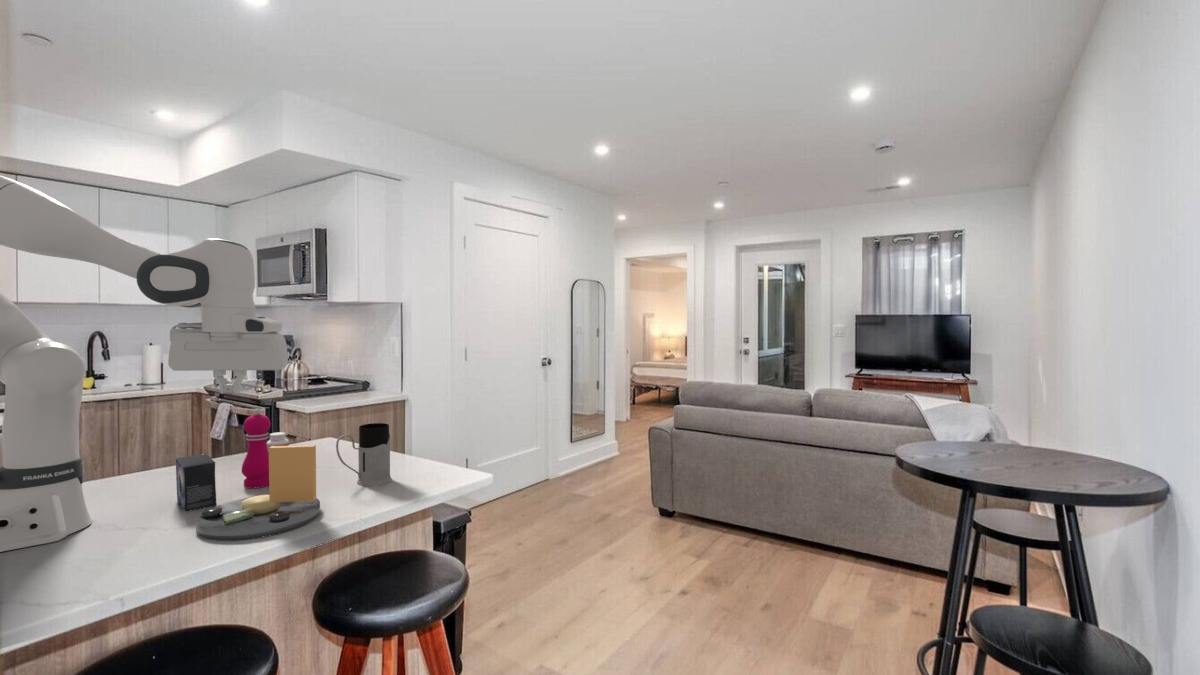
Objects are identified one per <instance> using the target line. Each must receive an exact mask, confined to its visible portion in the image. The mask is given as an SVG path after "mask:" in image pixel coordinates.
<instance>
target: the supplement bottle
mask: <svg viewBox="0 0 1200 675" xmlns="http://www.w3.org/2000/svg"><path fill="white" fill-rule="evenodd" d="M289 442H290V441H289V439H287V437H286V432H284V431H283V432H282V431H281V432H280V431H278V432H277V431H276V432H272V433H269V440H267V449H268V452H269V448H270V447H271V446H290V443H289Z"/></svg>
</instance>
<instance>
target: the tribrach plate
mask: <svg viewBox="0 0 1200 675" xmlns="http://www.w3.org/2000/svg"><path fill="white" fill-rule="evenodd" d="M250 497H251V496H250ZM250 497H244V498H238V499H235V500H231V501H227V502H224V503H222V504H218V505H216V506H211V507H206V508H203V509H202V510H201V512H200V514H199V515H198V516H197V517H196V518H195V530H196V531H195V532H196V534H197V535H198V536H199V537H201V538H204V539H209V540H213V541H225V540H228V541H245V540H244V539H246V540H252V539H253V538H254V539H259V538H258V537H261V538H263V537H262V536H267V537H270V536H269V535H271V536H274V535H275V534H276V535H279V533H280V534H283V533H287V532H290V531H293V530H296V529H298V528H301V527H303V526H306V525H308V524H310V523H311V522H313V521H315V520H316V519H317V518H318V517H319V516H320V514H321V501H320V500H319V499H318V497H316V499H315V500H314V501H299V502H280V507H279V508H278V509H276V510H274V511H271V512H268V513H263V514H255V515H253V510H252V508H249V509H245V510H242V501H243V500H245V499H247V498H250ZM276 535H275V536H276ZM254 539H253V540H254Z"/></svg>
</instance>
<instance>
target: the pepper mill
mask: <svg viewBox="0 0 1200 675" xmlns="http://www.w3.org/2000/svg"><path fill="white" fill-rule="evenodd" d="M252 413H253V415H250V416H248V417H247V418H246V419H245V420H244V422H243V430H244V431H245V432H246V433H247V434H245V436H246V439H245V440H246V441H247V443H248V445H247V447H248V448H247V453H246V455H245V457H244V460H243V462H242V465H241V473H242V475H243V476H244V477H245V478H244V479H243V487H244V488H245V487H246V489H258V488H257V487H261V488H264V487H263V486H265V487H268V486H269V452H268V449H267V442H268V438H269V439H270V433H269V432H268V430H269V429H270V428H271V424H272V423H271V420H270V418H269V417H268V416H267V415H264V414H261V413H262V410H261V409H259V408H255V409H253V411H252ZM267 485H268V486H267ZM255 487H256V488H255Z"/></svg>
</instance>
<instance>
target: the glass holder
mask: <svg viewBox="0 0 1200 675" xmlns="http://www.w3.org/2000/svg"><path fill="white" fill-rule="evenodd" d="M344 437H349V438H350V439H351V442H352V448H353V450H358V451H357V453H358V457H357V458H358V471H357V470H356V469H354V468H353V467H350V466H349V465H348V464H347V463H346V462H345V461H344V460H343V458H342V456H341V454H340V451H339V441H340V440H341V439H342V438H344ZM390 439H391V435H390V424H389V423H383V422H382V423H380V422H379V423H378V422H377V423H374V422H373V423H366V424H361V425H359V426H358V446H357V447H355V439H354V437H353V436H352V435H350V434H343V435H341V436H339V437H338V438H337V439H336V443H335V448H336V454H337V457H338V459H339V460H340V462H341V464H343V465H344V466H345V467H346V468H348V469H349V470H351V471H353V472H355V473H356V474H357V475H358V476H357V477H358V479H357V481H356V484H357V485H358V486H362V487H377V486H376V485H378V486H383V485H386V484H389V483H391V482H392V481H393V478H392V477H391V440H390ZM391 480H392V481H391ZM390 481H391V482H390ZM388 482H389V483H388ZM385 483H386V484H385ZM382 484H383V485H382Z"/></svg>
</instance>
